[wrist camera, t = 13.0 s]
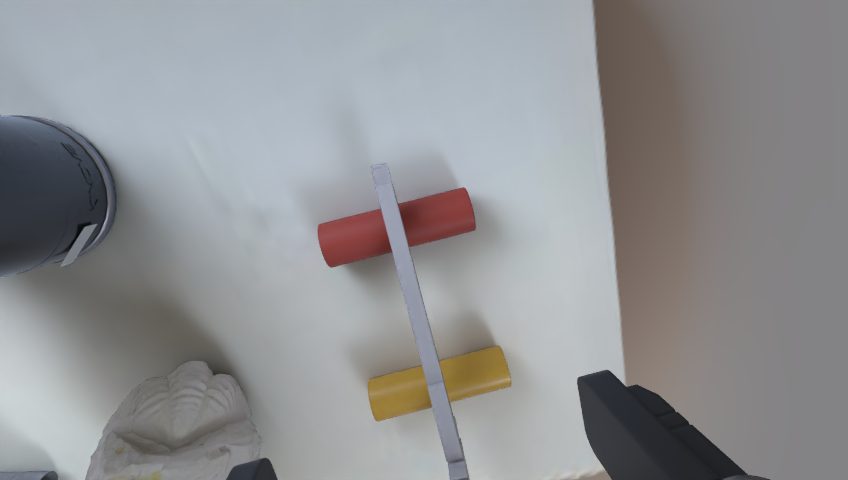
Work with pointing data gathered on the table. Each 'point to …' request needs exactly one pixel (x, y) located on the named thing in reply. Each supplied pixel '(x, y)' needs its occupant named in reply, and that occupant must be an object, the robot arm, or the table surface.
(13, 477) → the metal rod assembly
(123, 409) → the fossil replica
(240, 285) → the table surface
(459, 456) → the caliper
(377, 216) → the red rod
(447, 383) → the yellow rod
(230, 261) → the table surface
